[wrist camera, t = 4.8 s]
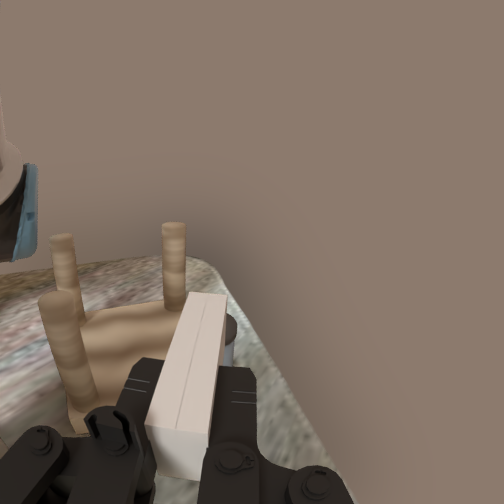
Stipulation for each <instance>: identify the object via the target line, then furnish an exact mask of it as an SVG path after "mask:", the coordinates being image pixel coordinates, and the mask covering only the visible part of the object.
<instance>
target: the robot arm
mask: <svg viewBox="0 0 504 504" xmlns="http://www.w3.org/2000/svg"><path fill="white" fill-rule="evenodd" d="M0 3H1V0H0ZM37 214H38V168H37V166H36V165H35V164H29V163H25V164H24V165H23V160H22V156H21V153H20V151H19V150H18V149H17V147H16V146H14V145H13V144H12V143H10V142H8V141H6V135H5V129H4V122H3V113H2V104H1V94H0V263H1V262H8V261H10V262H14V261H15V260H18V259H23V258H27V257H30V256H32V255H33V254H34V253H35V251H36V249H37ZM226 312H227V295H222V294H211V293H200V292H189V295H188V297H187V300H186V303H185V305H184V308H183V311H182V314H181V316H180V319H179V322H178V325H177V328H176V330H175V333H174V336H173V339H172V342H171V345H170V348H169V350H168V353H167V356H166V359H165V360H160V359H154V358H147V357H142V358H141V359H140V360H139V361H138V362H137V363H135V364H134V365H133V366H132V369H131V371H130V373H129V375H128V379H127V380H126V382H125V384H124V389H122V391H121V394H120V396H119V398H118V401H117V403H116V406H107V405H106V406H101V407H97V408H95V409H93V410H92V411H90V412H88V414H87V415H86V416H85V418H84V419H83V420H84V422H85V424H86V427H87V429H88V431H89V433H90V435H91V436H90V437H83V438H72V437H61V435H60V434H59V433H58V432H57V431H56V430H55V429H53V428H51V427H48V426H35V427H32V428H30V429H29V430H27V431H26V432H25V433H24V434H23V435H22V436H21V437H20V438H19V439H18V440H17V441H16V442H15V443H14V445H13V446H12V447H11V448H10V449H9V450H8V451H7V452H6V453H5V454H4V456H3V457H2V458H1V459H0V504H153V501H154V496H155V483H154V477H155V473H156V469H157V471H158V474H159V475H162V476H168V477H174V478H180V479H187V480H195V481H200V486H199V493H198V501H197V504H354V503H353V501H352V499H351V497H350V495H349V493H348V491H347V489H346V487H345V485H344V483H343V481H342V479H341V478H340V477H339V476H338V474H337V473H336V472H334V471H333V470H331V469H329V468H327V467H323V466H318V465H316V466H306V467H304V468H302V469H299V470H298V471H295V470H292V469H288V468H284V467H281V466H278V465H275V464H273V463H271V462H269V461H268V460H267V459H265V458H264V457H263V455H262V454H261V453H260V451H259V449H258V446H257V405H256V402H257V399H256V378H255V376H254V374H253V373H252V371H251V369H250V368H244V367H231V366H223V358H224V350H225V331H226Z"/></svg>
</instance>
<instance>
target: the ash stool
mask: <svg viewBox="0 0 504 504" xmlns="http://www.w3.org/2000/svg"><path fill="white" fill-rule="evenodd" d="M49 243H50V250H51V257H52V263H53V269H54V275H55V280H56V285H57V290H56V291H51V292H48V293H46V294H44V295H43V296H42V297H40V299H39V300H38V307H39V310H40V314H41V318H42V321H43V325H44V328H45V332H46V335H47V338H48V342H49V345H50V348H51V351H52V354H53V357H54V360H55V363H56V365H57V368H58V371H59V374H60V376H61V379H62V382H63V384H64V387H65V390H66V399H67V407H68V415H69V420H70V422H71V424H72V426H73V428H74V430H75V432H76V434H83V433H89V431H88V429H87V427H86V424H85V422H84V420H83V419H84V418H85V416H86V415H87V414H88V412H90V411H92V410H93V409H95V408H97V407H101V406H106V405H107V406H116V403H117V401H118V398H119V396H120V394H121V391H122V389H124V384H125V382H126V380H127V379H128V375H129V373H130V371H131V369H132V366H133V365H134V364H135V363H137V362H138V361H139V360H140V359H141V358H142V357H147V358H154V359H160V360H165V359H166V356H167V353H168V350H169V348H170V345H171V342H172V339H173V336H174V333H175V330H176V328H177V325H178V322H179V319H180V316H181V314H182V311H183V308H184V305H185V303H186V293H185V265H186V224H184V223H181V222H167V223H164V224H163V225H162V269H163V296H164V300H159V301H153V302H147V303H141V304H135V305H128V306H122V307H115V308H109V309H102V310H95V311H88V312H84V307H83V302H82V296H81V291H80V285H79V278H78V272H77V265H76V257H75V250H74V242H73V235H72V234H69V233H60V234H56V235H54V236H51V237H50V238H49ZM232 367H233V366H232Z"/></svg>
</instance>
